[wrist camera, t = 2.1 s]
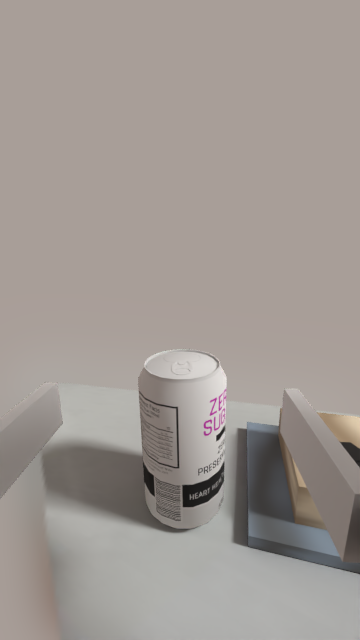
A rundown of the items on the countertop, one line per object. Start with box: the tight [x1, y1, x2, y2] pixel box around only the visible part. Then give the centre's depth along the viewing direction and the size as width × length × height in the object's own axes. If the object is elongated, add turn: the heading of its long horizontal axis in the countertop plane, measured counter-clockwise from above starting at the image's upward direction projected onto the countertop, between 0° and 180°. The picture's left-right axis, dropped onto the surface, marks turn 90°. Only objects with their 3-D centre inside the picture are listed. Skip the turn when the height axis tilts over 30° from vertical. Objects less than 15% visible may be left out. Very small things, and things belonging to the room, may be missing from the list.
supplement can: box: [138, 349, 226, 529], centre depth 25 cm, size 8×8×15 cm
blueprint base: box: [247, 408, 360, 573], centre depth 27 cm, size 20×16×5 cm
